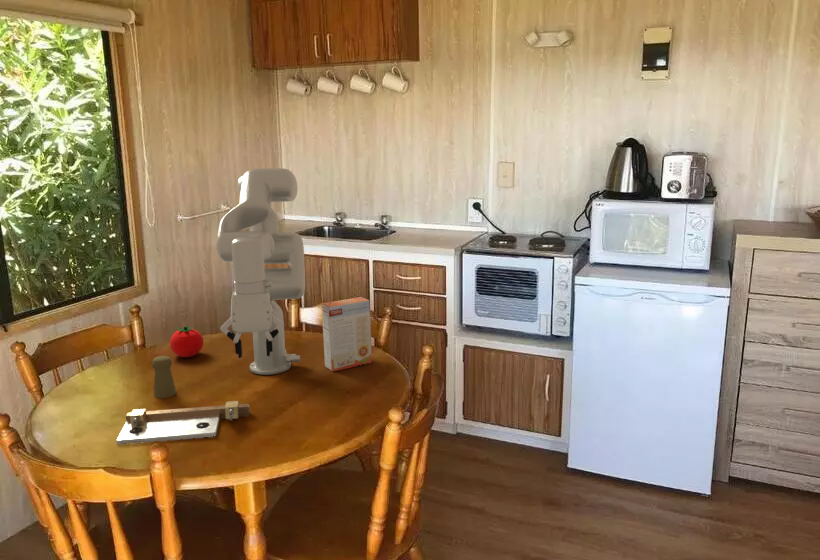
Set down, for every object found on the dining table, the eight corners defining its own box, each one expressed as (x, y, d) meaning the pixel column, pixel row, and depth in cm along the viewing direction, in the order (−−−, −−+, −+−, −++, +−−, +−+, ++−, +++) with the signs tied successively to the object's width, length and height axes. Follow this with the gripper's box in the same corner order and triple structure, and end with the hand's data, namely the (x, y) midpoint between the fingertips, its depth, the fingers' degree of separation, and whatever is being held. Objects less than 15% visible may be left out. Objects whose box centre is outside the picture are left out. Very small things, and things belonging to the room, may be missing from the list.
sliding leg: (239, 412, 178) (238, 400, 177) (237, 422, 172) (236, 410, 172) (227, 413, 178) (226, 401, 177) (225, 423, 172) (224, 411, 171)
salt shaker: (149, 394, 194) (145, 357, 191) (169, 387, 198) (166, 352, 196) (160, 400, 190) (156, 362, 187) (180, 393, 194) (176, 357, 192)
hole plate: (250, 410, 183) (249, 395, 182) (246, 434, 169) (245, 417, 168) (130, 419, 178) (128, 404, 177) (117, 444, 164) (115, 428, 163)
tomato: (202, 348, 231) (199, 320, 228) (206, 358, 221) (204, 329, 219) (169, 353, 227) (167, 324, 224) (172, 363, 217) (169, 333, 215)
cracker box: (363, 358, 221) (361, 295, 216) (372, 363, 216) (370, 300, 211) (323, 366, 214) (321, 302, 209) (331, 372, 209) (329, 306, 204)
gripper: (285, 281, 174) (289, 348, 178) (215, 285, 171) (220, 352, 176) (285, 289, 167) (289, 358, 171) (212, 292, 164) (217, 362, 168)
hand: (254, 354), depth 173 cm, fingers open, 6 cm apart
